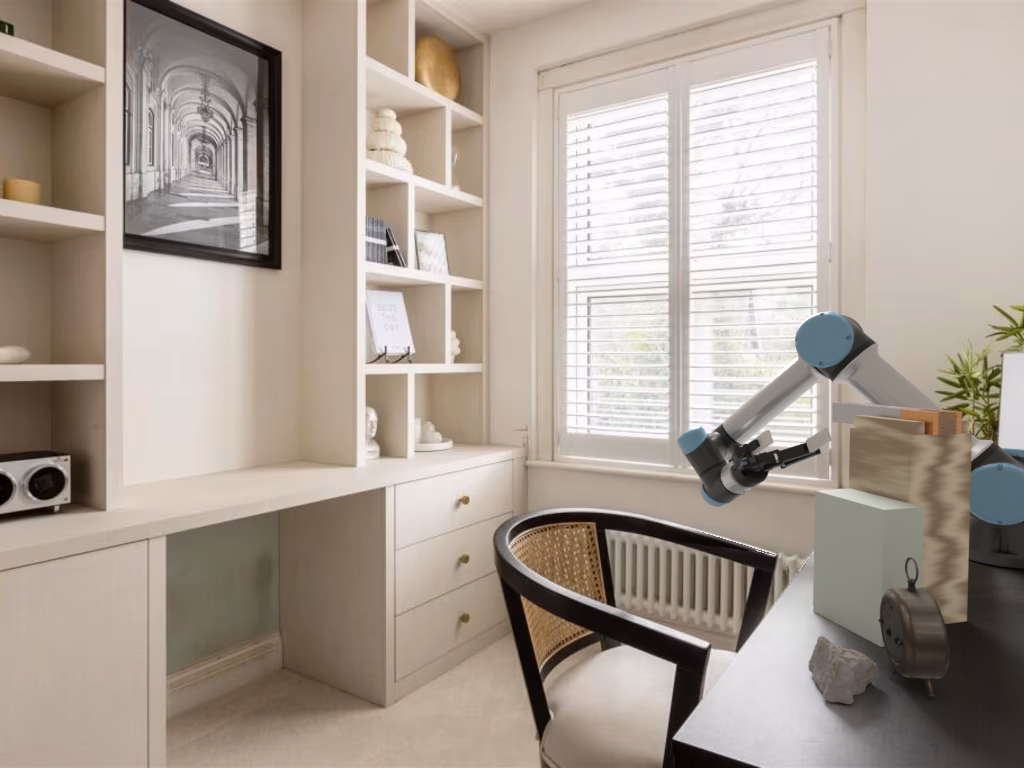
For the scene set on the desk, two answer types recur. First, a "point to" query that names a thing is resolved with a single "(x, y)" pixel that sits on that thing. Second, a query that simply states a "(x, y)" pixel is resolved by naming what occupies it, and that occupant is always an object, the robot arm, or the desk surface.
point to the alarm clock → (914, 632)
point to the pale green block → (862, 556)
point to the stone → (840, 671)
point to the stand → (922, 495)
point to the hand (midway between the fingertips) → (799, 435)
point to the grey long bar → (902, 416)
